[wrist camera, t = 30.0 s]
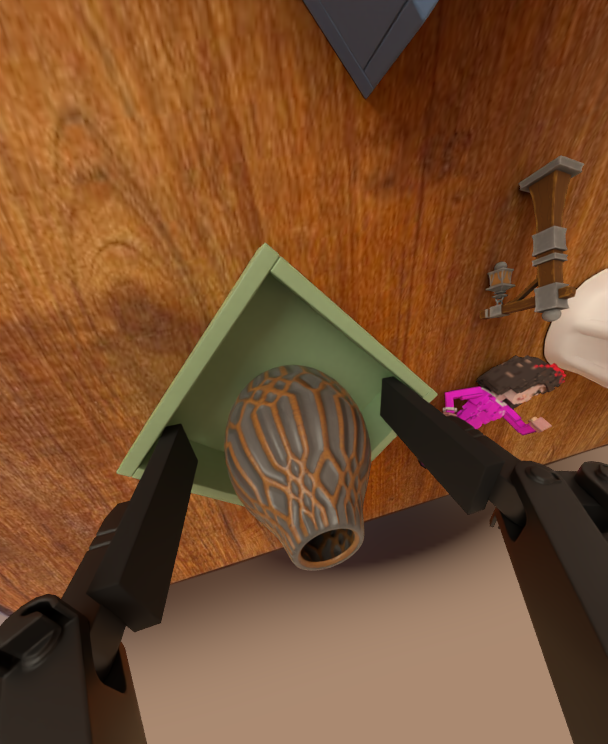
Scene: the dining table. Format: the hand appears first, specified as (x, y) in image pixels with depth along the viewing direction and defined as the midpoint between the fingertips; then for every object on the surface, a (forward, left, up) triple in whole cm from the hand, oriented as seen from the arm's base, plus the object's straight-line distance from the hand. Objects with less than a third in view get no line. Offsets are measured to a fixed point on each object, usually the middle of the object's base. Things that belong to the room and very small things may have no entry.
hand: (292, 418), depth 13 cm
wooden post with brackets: (+6, +16, -3) cm, 17 cm away
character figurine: (+14, +7, -3) cm, 16 cm away
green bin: (0, 0, -3) cm, 3 cm away
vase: (0, 0, -2) cm, 2 cm away
